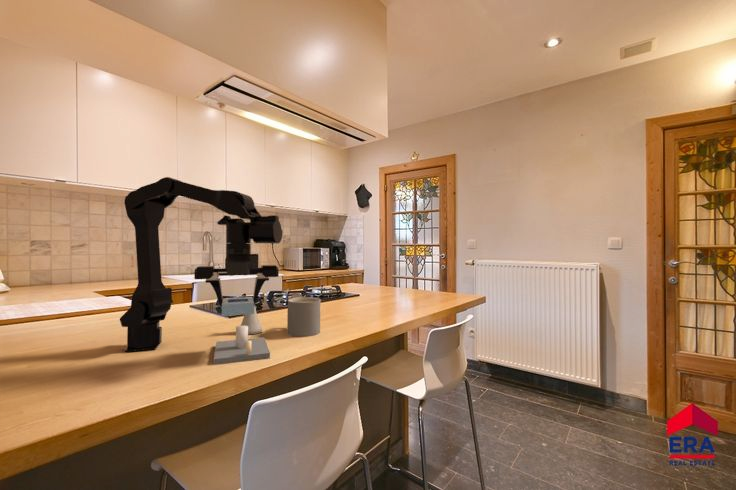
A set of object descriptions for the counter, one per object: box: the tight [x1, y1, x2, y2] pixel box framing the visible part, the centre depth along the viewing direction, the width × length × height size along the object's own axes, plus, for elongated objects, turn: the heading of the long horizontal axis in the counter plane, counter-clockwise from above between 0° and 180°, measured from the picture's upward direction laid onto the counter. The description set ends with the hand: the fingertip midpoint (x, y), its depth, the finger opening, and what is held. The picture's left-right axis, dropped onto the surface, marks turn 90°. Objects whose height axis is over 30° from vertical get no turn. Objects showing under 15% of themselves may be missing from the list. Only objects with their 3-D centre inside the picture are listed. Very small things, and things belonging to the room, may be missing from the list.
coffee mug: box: [286, 297, 322, 338], centre depth 101 cm, size 13×10×10 cm
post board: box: [213, 325, 271, 365], centre depth 80 cm, size 12×14×6 cm
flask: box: [240, 305, 263, 335], centre depth 99 cm, size 7×7×10 cm
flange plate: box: [221, 296, 254, 317], centre depth 79 cm, size 10×7×3 cm
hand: (238, 306), depth 80 cm, fingers closed on flange plate, 7 cm apart
